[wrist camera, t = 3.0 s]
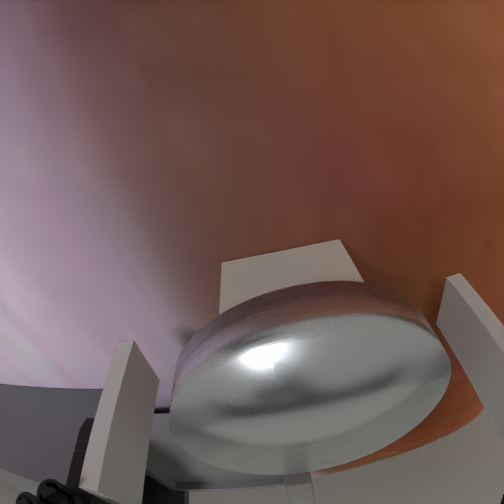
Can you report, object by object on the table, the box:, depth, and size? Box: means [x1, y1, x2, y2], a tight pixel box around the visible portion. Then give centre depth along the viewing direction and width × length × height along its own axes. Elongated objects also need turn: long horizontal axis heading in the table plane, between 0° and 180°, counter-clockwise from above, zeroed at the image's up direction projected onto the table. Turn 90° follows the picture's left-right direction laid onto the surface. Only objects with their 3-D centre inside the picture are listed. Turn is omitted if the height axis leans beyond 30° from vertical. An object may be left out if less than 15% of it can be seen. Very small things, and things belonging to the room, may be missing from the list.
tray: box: [145, 413, 315, 504], centre depth 19 cm, size 17×14×7 cm
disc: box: [168, 281, 451, 475], centre depth 9 cm, size 9×9×2 cm
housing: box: [0, 384, 189, 504], centre depth 19 cm, size 17×14×8 cm
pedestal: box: [219, 239, 364, 315], centre depth 12 cm, size 5×5×5 cm
